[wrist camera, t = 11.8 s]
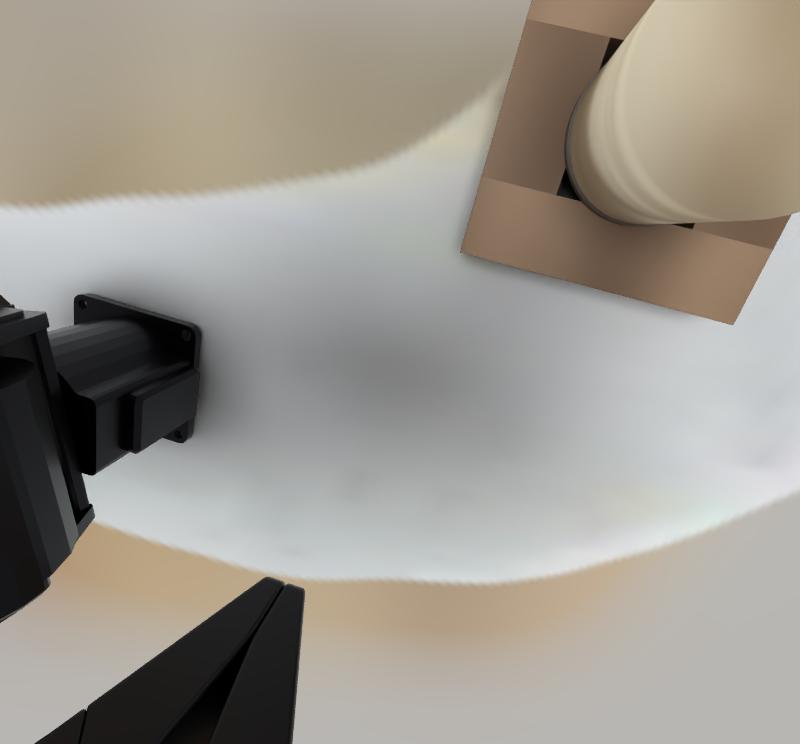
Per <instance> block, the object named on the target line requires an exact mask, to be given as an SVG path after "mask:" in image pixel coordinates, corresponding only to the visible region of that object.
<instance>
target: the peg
mask: <svg viewBox="0 0 800 744" xmlns="http://www.w3.org/2000/svg"><path fill="white" fill-rule="evenodd" d="M564 157H565V166H566V171H567V175H568V178H569V180H570V183H571V186H572V188H573V189H574V191H575V193H576V195H577V196H578V197H579V199H580V200H581V201H582V203H583V204H584V205H585V206H586V207H587V208H589V209H590V210H591V211H592V212H593V213H595V214H596V215H598V216H599V217H601V218H603V219H605V220H607V221H610V222H613V223H616V224H620V225H626V226H639V227H640V226H656V225H662V224H675V223H701V222H727V221H751V220H763V219H771V218H776V217H781V216H786V215H790V214H793V213H797V212H800V0H655V1H654V2H653V4H652V5H651V6H650V7H649V9H648V10H647V11H646V13H645V14H644V15H643V17H642V18H641V19H640V20H639V22H638V23H637V24H636V26H635V27H634V28H633V30H632V31H631V32H630V33H629V35H628V36H627V37H626V39H625V40H624V41H623V42H622V44H621V45H620V46H619V48H618V49H617V50H616V52H615V53H614V54H613V55H612V57H611V58H610V59H609V61H608V62H607V63H606V64H605V65H604V66H603V67H602V68H601V69H600V70H599V71H598V73H597V74H596V75H595V76H594V77H593V79H592V80H591V81H590V83H589V84H588V85H587V87H586V88H585V90H584V91H583V93H582V94H581V96H580V97H579V99H578V101H577V103H576V105H575V107H574V109H573V112H572V114H571V117H570V119H569V123H568V127H567V130H566V136H565V145H564Z"/></svg>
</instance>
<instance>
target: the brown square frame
mask: <svg viewBox="0 0 800 744" xmlns="http://www.w3.org/2000/svg"><path fill="white" fill-rule="evenodd" d="M654 1H655V0H532V1H531V5H530V9H529V12H528V15H527V19H526V23H525V26H524V30H523V33H522V37H521V40H520V44H519V47H518V51H517V54H516V58H515V61H514V65H513V68H512V72H511V75H510V79H509V82H508V86H507V89H506V93H505V96H504V100H503V103H502V107H501V110H500V114H499V117H498V121H497V124H496V128H495V131H494V135H493V138H492V142H491V145H490V149H489V153H488V156H487V160H486V163H485V167H484V170H483V174H482V177H481V181H480V184H479V188H478V191H477V195H476V198H475V202H474V205H473V209H472V212H471V216H470V219H469V223H468V226H467V230H466V233H465V237H464V240H463V244H462V247H461V251H460V252H461V253H464V254H468V255H472V256H476V257H479V258H483V259H487V260H491V261H494V262H498V263H502V264H506V265H509V266H513V267H517V268H521V269H524V270H528V271H532V272H536V273H539V274H543V275H547V276H551V277H554V278H558V279H562V280H566V281H569V282H573V283H577V284H580V285H584V286H588V287H592V288H595V289H599V290H603V291H607V292H610V293H614V294H618V295H622V296H625V297H629V298H633V299H637V300H640V301H644V302H648V303H652V304H655V305H659V306H663V307H667V308H670V309H674V310H678V311H682V312H685V313H689V314H693V315H697V316H700V317H704V318H708V319H712V320H715V321H719V322H723V323H727V324H730V325H733V324H734V322H735V321H736V319H737V317H738V315H739V313H740V311H741V309H742V307H743V305H744V304H745V302H746V300H747V298H748V296H749V294H750V292H751V290H752V288H753V286H754V285H755V283H756V281H757V279H758V277H759V275H760V273H761V271H762V269H763V267H764V266H765V264H766V262H767V260H768V258H769V256H770V254H771V252H772V250H773V249H774V247H775V245H776V243H777V241H778V239H779V237H780V235H781V233H782V231H783V230H784V228H785V226H786V224H787V222H788V220H789V218H790V216H791V214H790V215H786V216H781V217H776V218H771V219H763V220H751V221H727V222H701V223H675V224H662V225H656V226H640V227H639V226H626V225H620V224H616V223H613V222H610V221H607V220H605V219H603V218H601V217H599V216H598V215H596V214H595V213H593V212H592V211H591V210H590V209H589V208H587V207H586V206H585V205H584V204H583V203H582V202H581V201H577V200H573V199H569V198H565V197H561V196H557V195H556V194H557V191H558V188H559V185H560V183H561V180H562V177H563V174H564V171H565V168H566V166H565V157H564V145H565V136H566V130H567V127H568V123H569V119H570V117H571V114H572V112H573V109H574V107H575V105H576V103H577V101H578V99H579V97H580V96H581V94H582V93H583V91H584V90H585V88H586V87H587V85H588V84H589V83H590V81H591V80H592V79H593V77H594V76H595V75H596V74H597V73H598V71H599V70H600V69H601V68H602V67H603V66H604V65H605V64H606V63H607V62H608V61H609V59H610V58H611V57H612V55H613V54H614V53H615V52H616V50H617V49H618V48H619V46H620V45H621V44H622V42H623V41H624V40H625V39H626V37H627V36H628V35H629V33H630V32H631V31H632V30H633V28H634V27H635V26H636V24H637V23H638V22H639V20H640V19H641V18H642V17H643V15H644V14H645V13H646V11H647V10H648V9H649V7H650V6H651V5H652V4H653V2H654Z"/></svg>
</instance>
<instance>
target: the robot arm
mask: <svg viewBox="0 0 800 744" xmlns="http://www.w3.org/2000/svg"><path fill="white" fill-rule="evenodd" d="M85 301H86V303H87V305H88V307H87V306H86V303H85ZM48 327H50V326H49V322H48V318H47V314H46V312H38V311H23V310H22V309H15V307H14V305H12V304H10V303H9V302H8V301H7V300H5V299H4V298H3V297H2V296H1V295H0V623H1V622H2V621H4V620H5V619H7V618H8V617H10V616H12V615H13V614H15V613H16V612H17V611H19V610H21V609H22V608H24V607H25V606H26V605H28V604H29V603H30V602H32V601H33V600H35V599H36V598H37V597H39V596H40V595H41V594H42V593H43V592H44V591H45V590H46V589H47V588H48V587H49V586H50V583H51V582H50V579H49V577H50V576H51V575H52V574H53V573H54V572H55V571H56V570H57V568H58V567H59V566H60V565H61V564H62V563H63V562H64V561H65V559H66V558H67V557H68V556H69V555H70V554H71V553H72V550H73V548H74V545H75V543H76V541H77V540H78V539H79V537H80V536H81V535H82V533H83V532H84V531H85V529H86V528H87V527H88V525H89V524H90V523H91V522H92V520H93V519H94V518H95V513H94V509H93V505H92V504H89V501H88V497H87V493H86V489H85V485H84V480H83V476H82V473H84V474H87V475H92V476H93V475H95V474H96V473H98V472H99V471H101V470H103V469H104V468H106V467H107V466H109V465H110V464H112V463H114V462H115V461H117V460H118V459H120V458H121V457H123V456H125V455H126V454H128V453H129V452H131V453H134V454H137V453H139V452H141V451H142V450H144V449H145V448H147V447H148V446H150V445H152V444H153V443H155V442H156V441H158V440H159V439H161V438H165V439H168V440H171V441H174V442H177V443H184V442H186V441H187V440H188V439H190V438H191V437H192V432H193V421H194V416H195V415H196V409H197V398H198V387H199V376H200V373H199V370H198V364H199V353H200V342H201V332H200V330H199V329H198V328H197V326H195V325H193V324H191V323H187V322H184V321H181V320H177V319H174V318H170V317H167V316H164V315H160V314H157V313H153V312H150V311H147V310H143V309H140V308H137V307H133V306H130V305H126V304H123V303H120V302H116V301H113V300H109V299H106V298H103V297H99V296H96V295H93V294H87V293H86V294H80V295H77V296H76V297H75V298H74V326H69V327H65V328H61V329H57V330H52V331H48V332H47V328H48ZM187 331H189V332H190V334H191V338H189V337H188V336H187ZM179 430H180V431H181V432H182V433H183V435H182V434H181V433H180V432H179ZM304 601H305V590H304V589H303V588H301V587H298V586H295V585H292V584H286V585H285V583H284V582H283V581H280V580H277V579H274V578H271V577H265V578H263V579H262V580H261V581H259V582H258V583H256V584H255V585H254V586H252V587H251V588H249V589H248V590H247V591H245V592H244V593H243V594H241V595H240V596H238V597H237V598H236V599H234V600H233V601H232V602H230V603H229V604H227V605H226V606H225V607H223V608H222V609H221V610H219V611H218V612H216V613H215V614H214V615H212V616H211V617H209V618H208V619H207V620H205V621H204V622H203V623H201V624H200V625H199V626H197V627H196V628H194V629H193V630H192V631H190V632H189V633H187V634H186V635H185V636H183V637H182V638H181V639H179V640H178V641H176V642H175V643H174V644H172V645H171V646H170V647H168V648H167V649H165V650H164V651H163V652H161V653H160V654H159V655H157V656H156V657H154V658H153V659H152V660H150V661H149V662H147V663H146V664H145V665H143V666H142V667H141V668H139V669H138V670H137V671H135V672H134V673H132V674H131V675H130V676H128V677H127V678H126V679H124V680H123V681H121V682H120V683H119V684H117V685H116V686H114V687H113V688H112V689H110V690H109V691H108V692H106V693H105V694H103V695H102V696H101V697H99V698H98V699H97V700H95V701H94V702H92V703H91V704H90V705H89V706H88V708H87V711H86V710H85V709H83V710H81V711H80V712H78V713H77V714H76V715H74V716H73V717H72V718H70V719H69V720H67V721H66V722H65V723H63V724H62V725H61V726H59V727H58V728H56V729H55V730H54V731H52V732H51V733H49V734H48V735H46V736H45V737H43V738H42V739H40V740H39V741H38V742H36V743H35V744H292V741H293V729H294V717H295V705H296V694H297V681H298V671H299V659H300V647H301V636H302V624H303V612H304Z"/></svg>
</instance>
